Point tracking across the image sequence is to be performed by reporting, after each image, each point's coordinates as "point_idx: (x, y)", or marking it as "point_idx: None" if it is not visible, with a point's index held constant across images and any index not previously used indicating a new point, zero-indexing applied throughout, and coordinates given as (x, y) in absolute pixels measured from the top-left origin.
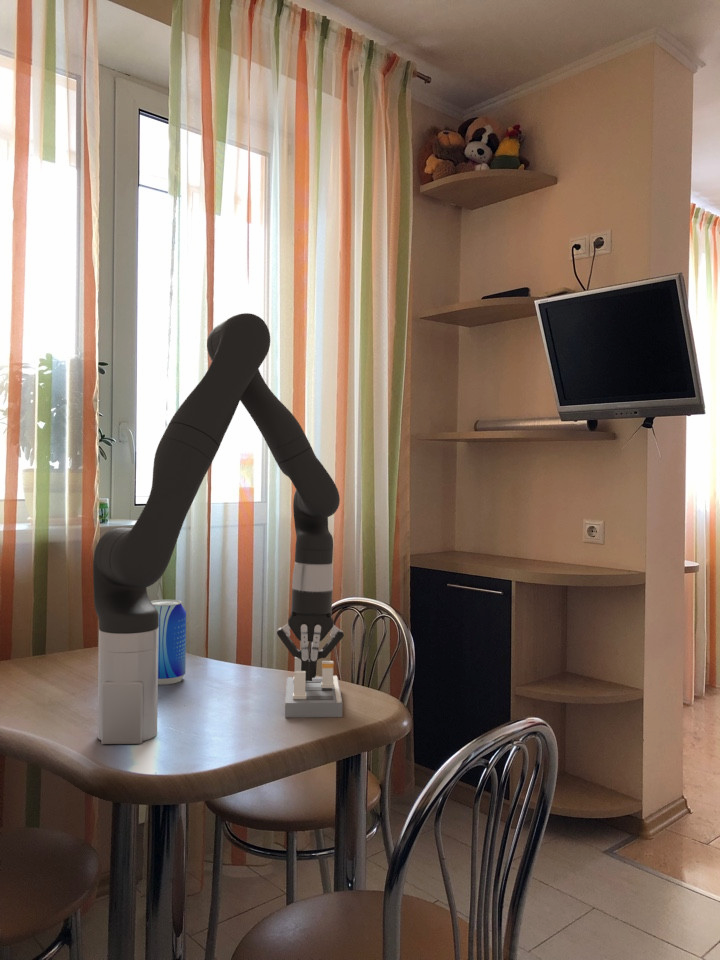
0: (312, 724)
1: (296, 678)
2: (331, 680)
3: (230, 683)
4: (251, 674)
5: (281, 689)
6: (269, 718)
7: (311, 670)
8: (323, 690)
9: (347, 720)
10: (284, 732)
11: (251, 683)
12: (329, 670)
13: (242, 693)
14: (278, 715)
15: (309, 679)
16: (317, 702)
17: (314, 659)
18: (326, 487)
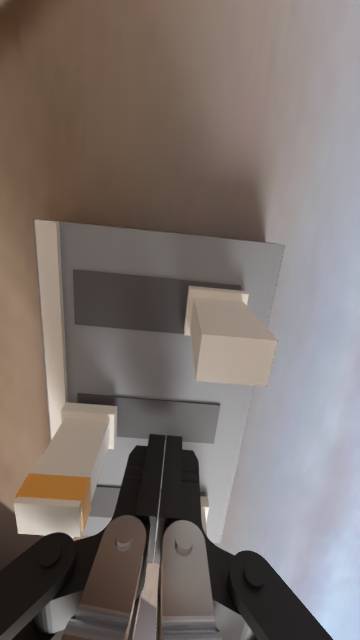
0: (177, 137)
1: (252, 326)
2: (66, 427)
3: (346, 560)
4: None
5: (227, 509)
6: (320, 239)
7: (148, 469)
8: (110, 396)
9: (41, 175)
10: (304, 29)
11: (295, 556)
12: (57, 464)
13: (338, 488)
14: (282, 271)
15: (160, 436)
16: (145, 236)
17: (123, 525)
18: None
